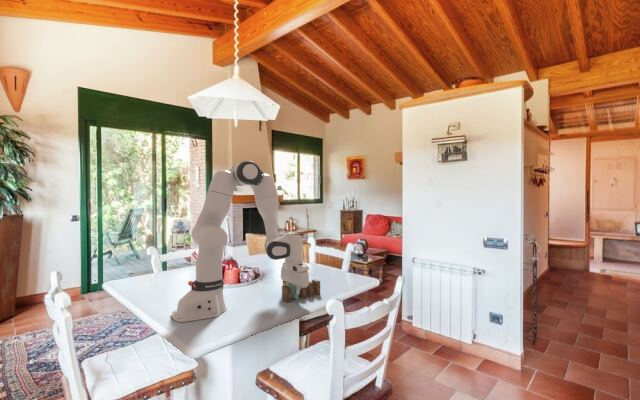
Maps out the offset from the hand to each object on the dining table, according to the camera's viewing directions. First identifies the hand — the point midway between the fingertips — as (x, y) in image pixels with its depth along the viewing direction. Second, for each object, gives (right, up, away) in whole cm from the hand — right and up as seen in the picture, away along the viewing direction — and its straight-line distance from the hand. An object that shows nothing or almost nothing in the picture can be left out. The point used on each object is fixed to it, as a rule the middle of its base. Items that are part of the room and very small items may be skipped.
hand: (294, 292), depth 161 cm
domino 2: (+4, -3, +3) cm, 6 cm away
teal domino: (0, -2, 0) cm, 2 cm away
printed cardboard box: (-2, -3, +20) cm, 20 cm away
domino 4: (+11, -3, +8) cm, 14 cm away
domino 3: (+7, -3, +5) cm, 10 cm away
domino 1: (-4, -3, -3) cm, 6 cm away
